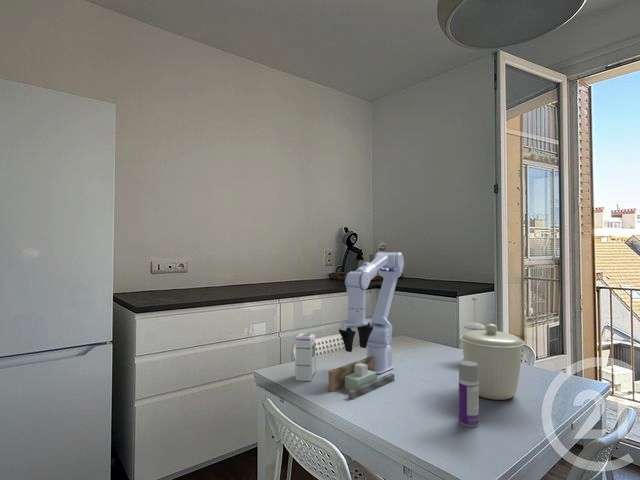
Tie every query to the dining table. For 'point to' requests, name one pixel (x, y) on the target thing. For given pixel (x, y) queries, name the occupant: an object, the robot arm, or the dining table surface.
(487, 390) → the canister
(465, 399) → the container
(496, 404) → the dining table surface
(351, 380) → the mint block with knob
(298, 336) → the syrup box
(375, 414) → the dining table surface
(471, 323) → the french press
